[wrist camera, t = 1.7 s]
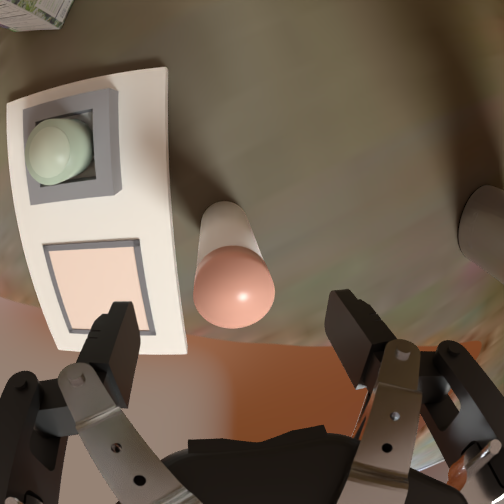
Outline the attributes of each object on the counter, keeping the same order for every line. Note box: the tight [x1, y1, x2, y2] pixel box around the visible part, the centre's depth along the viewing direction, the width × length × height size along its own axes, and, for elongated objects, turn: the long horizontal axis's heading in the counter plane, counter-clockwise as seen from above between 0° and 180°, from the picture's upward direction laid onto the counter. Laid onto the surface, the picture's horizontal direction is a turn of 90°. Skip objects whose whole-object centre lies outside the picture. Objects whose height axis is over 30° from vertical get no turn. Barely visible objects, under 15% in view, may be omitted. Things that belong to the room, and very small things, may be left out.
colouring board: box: [7, 67, 187, 354], centre depth 20 cm, size 14×24×3 cm, turn 0°
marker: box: [193, 201, 275, 328], centre depth 18 cm, size 4×4×10 cm
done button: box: [25, 119, 94, 185], centre depth 15 cm, size 4×4×3 cm
